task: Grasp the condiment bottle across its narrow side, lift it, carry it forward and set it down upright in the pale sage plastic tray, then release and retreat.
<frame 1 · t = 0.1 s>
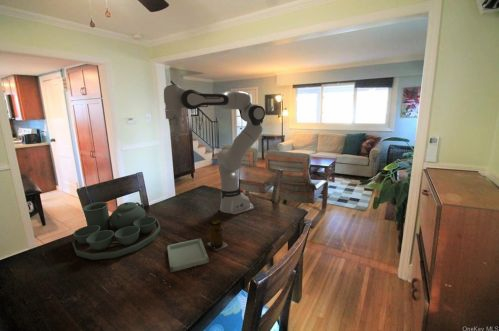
hand: (176, 140, 134), 48 cm above the table, fingers open, 8 cm apart
tray: (187, 255, 107), on the table
condiment: (217, 245, 116), on the table
tea set: (121, 237, 124), on the table
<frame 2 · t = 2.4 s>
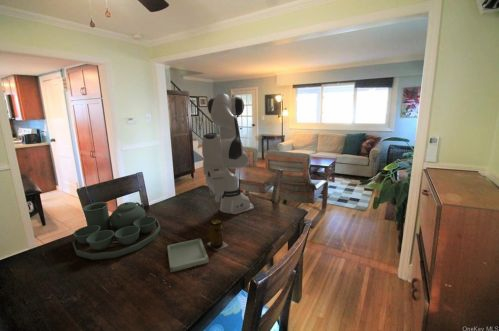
hand: (214, 198, 110), 24 cm above the table, fingers open, 8 cm apart
nothing on the table moved.
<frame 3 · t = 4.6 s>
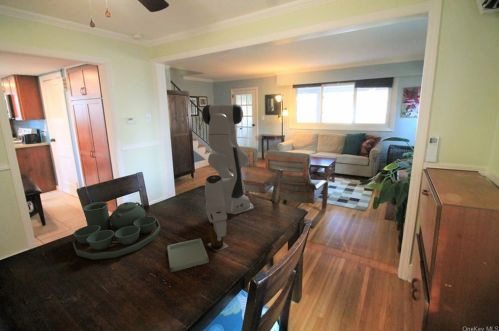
hand: (217, 236, 115), 5 cm above the table, fingers closed on condiment, 6 cm apart
condiment: (217, 245, 115), on the table, touching gripper
everything else where it was.
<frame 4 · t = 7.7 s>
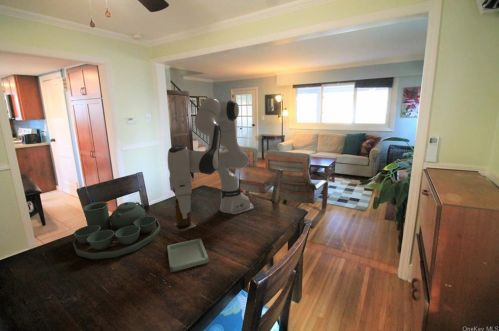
hand: (183, 214, 103), 20 cm above the table, fingers closed on condiment, 6 cm apart
condiment: (184, 225, 103), point 15 cm above the table, touching gripper
everything else where it was.
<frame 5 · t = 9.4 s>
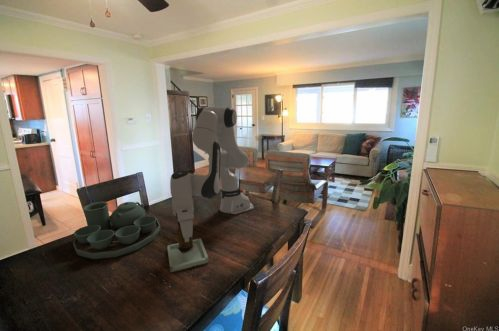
hand: (185, 237, 105), 9 cm above the table, fingers closed on condiment, 6 cm apart
condiment: (186, 247, 106), point 5 cm above the table, touching gripper
everything else where it was.
when the fingers open (7 cm above the table, at t = 10.6 s): condiment drops 1 cm, resting on tray.
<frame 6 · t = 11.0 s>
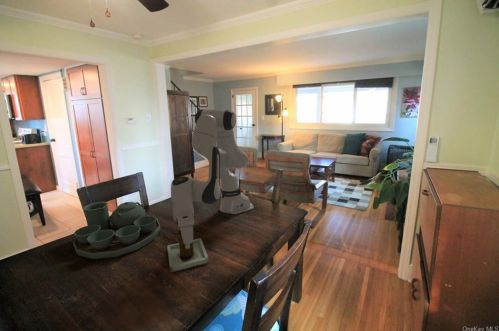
hand: (186, 242, 106), 7 cm above the table, fingers open, 8 cm apart
condiment: (187, 255, 107), resting on tray
everything else where it was.
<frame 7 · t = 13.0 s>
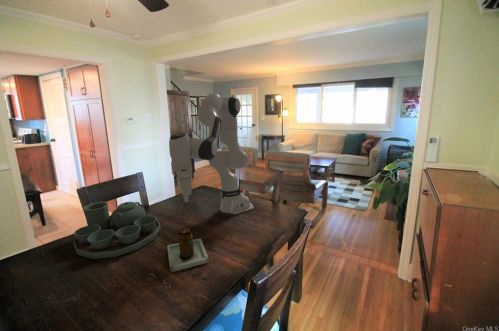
hand: (185, 197, 110), 25 cm above the table, fingers open, 8 cm apart
nothing on the table moved.
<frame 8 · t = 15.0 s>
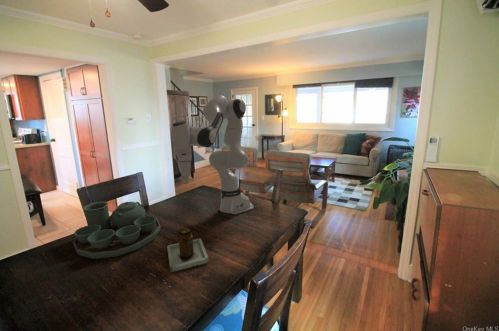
hand: (184, 181, 121), 29 cm above the table, fingers open, 8 cm apart
nothing on the table moved.
at the end: condiment inside the target area on the tray (0.9 cm from its centre), point 0.4 cm above the tray's base; condiment tilted 0°; the gripper is holding nothing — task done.
